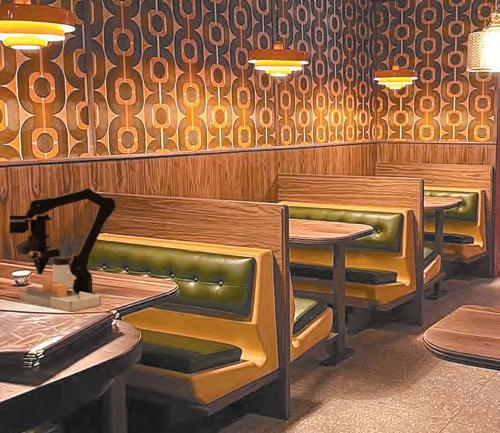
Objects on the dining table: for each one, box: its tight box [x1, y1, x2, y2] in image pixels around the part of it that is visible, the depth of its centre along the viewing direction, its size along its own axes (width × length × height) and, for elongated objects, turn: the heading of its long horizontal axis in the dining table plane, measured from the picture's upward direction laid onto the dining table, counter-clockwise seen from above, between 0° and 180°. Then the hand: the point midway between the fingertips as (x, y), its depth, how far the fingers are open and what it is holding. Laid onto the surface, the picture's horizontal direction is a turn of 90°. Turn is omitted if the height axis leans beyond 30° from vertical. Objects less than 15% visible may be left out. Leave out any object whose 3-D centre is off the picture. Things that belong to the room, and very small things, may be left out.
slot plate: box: [20, 287, 79, 308], centre depth 258 cm, size 13×19×4 cm
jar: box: [52, 255, 75, 289], centre depth 284 cm, size 9×8×12 cm
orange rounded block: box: [42, 281, 58, 292], centre depth 258 cm, size 4×4×4 cm
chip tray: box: [49, 292, 102, 313], centre depth 248 cm, size 13×12×4 cm
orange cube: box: [51, 283, 68, 297], centre depth 254 cm, size 4×4×4 cm
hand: (40, 274), depth 262 cm, fingers closed
